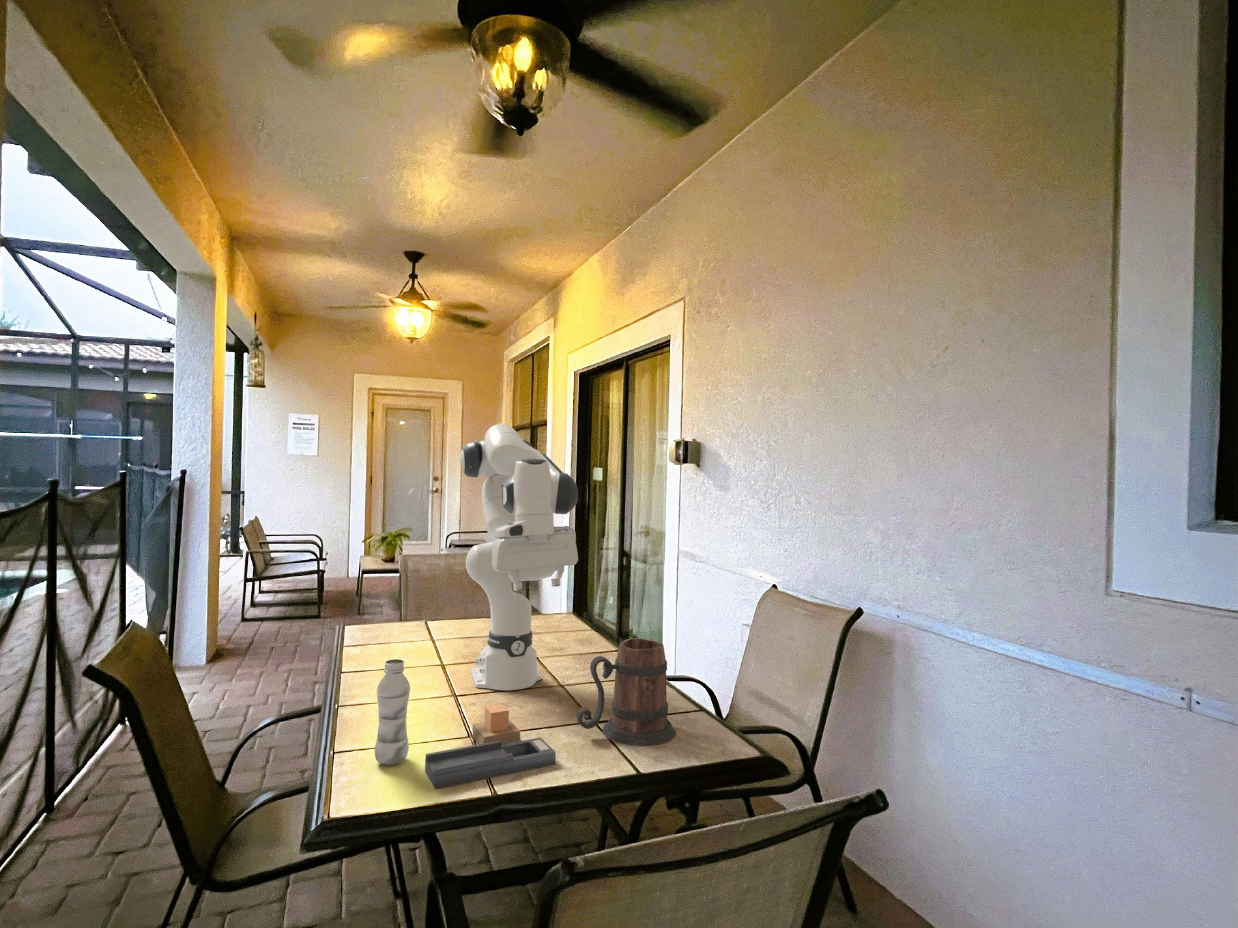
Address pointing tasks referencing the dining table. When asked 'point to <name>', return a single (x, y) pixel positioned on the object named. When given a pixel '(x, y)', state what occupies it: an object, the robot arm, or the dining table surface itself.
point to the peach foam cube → (496, 718)
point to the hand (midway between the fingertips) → (537, 588)
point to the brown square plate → (495, 734)
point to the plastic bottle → (392, 714)
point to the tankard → (634, 695)
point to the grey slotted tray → (486, 761)
